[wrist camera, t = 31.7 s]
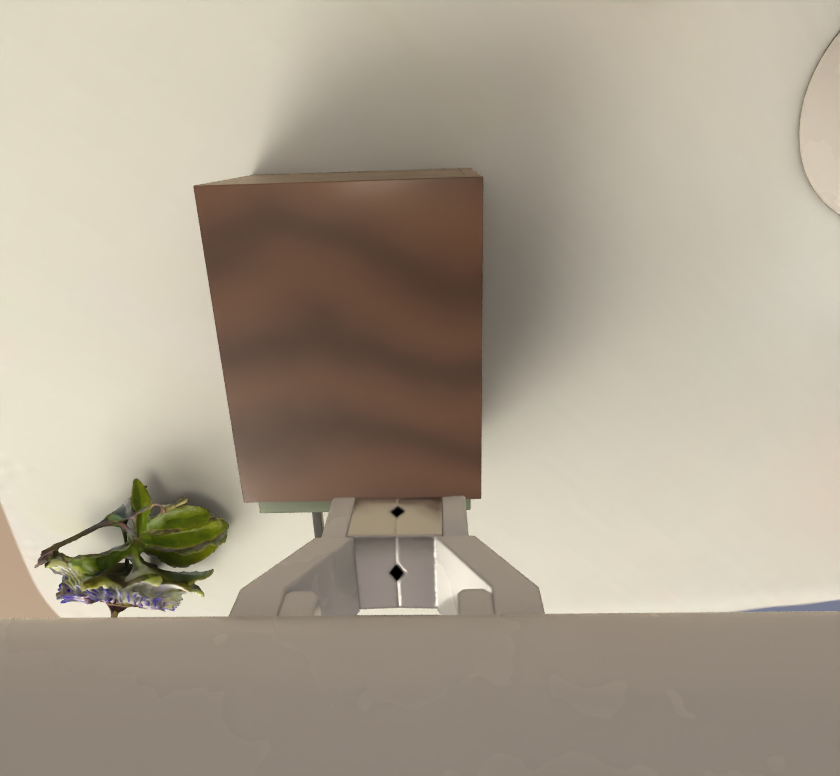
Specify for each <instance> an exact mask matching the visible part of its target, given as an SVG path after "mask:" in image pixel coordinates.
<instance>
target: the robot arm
mask: <svg viewBox="0 0 840 776" xmlns="http://www.w3.org/2000/svg"><path fill="white" fill-rule="evenodd" d="M799 144H800V153H801V158H802V163H803V166H804V170H805V172H806V175H807V177H808V180H809V182H810V184H811V185H812V187H813V189H814V190H815V192H816V193H817V194H818V196H819V197H820V198H821V199H822V200H823V201H824V203H825V204H827V205H828V206H829V207H830V208H831V209H832V210H834V211H835V212H836V213H838V214H839V215H840V32H839V34H838V35H837V36H836V37H835V39H834V40H833V41H832V43H831V44H830V46H829V47H828V48H827V50H826V52H825V53H824V55H823V56H822V58H821V60H820V62H819V63H818V65H817V67H816V69H815V71H814V73H813V76H812V78H811V81H810V83H809V86H808V89H807V91H806V95H805V98H804V102H803V106H802V111H801V117H800V127H799ZM442 520H443V523H442ZM377 608H438V611H439V613H440V614H441V615H357V613H358V612H359V609H377ZM0 776H840V611H828V612H826V611H822V612H821V611H819V612H699V613H581V614H545V612H544V608H543V604H542V599H541V595H540V591H539V587H538V586H536V585H535V584H534V583H533V582H531V581H530V580H529V579H528V578H526V577H525V576H524V575H523V574H521V573H520V572H519V571H518V570H516V569H515V568H514V567H513V566H512V565H510V564H509V563H508V562H507V561H505V560H504V559H503V558H502V557H500V556H499V555H498V554H497V553H495V552H494V551H493V550H492V549H490V548H489V547H488V546H487V545H485V544H484V543H483V542H482V541H480V540H479V539H478V538H477V537H475V536H469V535H468V524H467V513H466V501H465V497H464V495H462V496H444V497H417V498H364V497H357V498H355V497H344V498H334V499H333V500H332V503H331V506H330V510H329V513H328V517H327V520H326V524H325V527H324V530H323V534H322V537H321V538H314V539H313V540H312V541H310V542H309V543H307V544H306V545H304V546H303V547H301V548H300V549H299V550H297V551H296V552H294V553H293V554H291V555H290V556H288V557H287V558H286V559H284V560H283V561H281V562H280V563H278V564H277V565H275V566H274V567H273V568H271V569H270V570H268V571H267V572H265V573H264V574H262V575H261V576H260V577H258V578H257V579H255V580H254V581H252V582H251V583H249V584H248V585H247V586H245V587H244V588H242V589H241V590H240V592H239V594H238V596H237V599H236V601H235V603H234V605H233V608H232V610H231V612H230V615H229V617H119V618H10V619H9V618H0Z"/></svg>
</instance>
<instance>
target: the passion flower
mask: <svg viewBox="0 0 840 776" xmlns="http://www.w3.org/2000/svg"><path fill="white" fill-rule="evenodd" d="M146 488H147V486H144V485H143V484H142V483H141V481H139V480H138V479H135V480H134V481H133V488H132V497H130V498H129V499H128V500H127V501H126V502H125V503H124V504H123V505H122V506H121V507H120V508H118V509H117V510H116V511H114V512H112V513H110V514H109V515H107V516H106V517H105V519H104V520H102V521H101V522H100V523H98V524H96V525H94V526H92V527H90V528H88V529H86V530H84V531H82V532H81V533H79V534H77V535H75V536H73V537H71V538H68V539H66V540H64V541H62V542H59V543H56V544H54V545H52V546H51V547H49V548H47V549H45V550H43V551H42V552H41V553H42V554H40V555H41V557H40V558H39V559H38V564H37V565H35V568H36V567H38V566H40V565H42V564H44V563H45V562H46V563H45V568H50V569H51V570H52V571H53V572H54V573H55V574H59V575H63V578H62V583H61V584H59V589H58V591H59V592H58V593H56V597H57V600H59V599H64V600H62V601H61V603H66V602H71V601H75V602H81V603H83V604H92V603H94V602H98V601H100V602H105V603H106V604H107V605H108V607H109V608H110V611H111V618H117V616H118V613H119V612H121V611H123V610H125V609H126V608H128V607H131V606H132V607H139V608H144V609H149V610H154V609H155V610H156V609H158V610H162V611H164V610H165V609H169V610H172V611H174V610H175V608H177V606H179V604H180V600H183V598H182V597H181V594H187V593H197V594H199V595H201V596H202V597H204V593H203V591H202V590H201V589H200V587H199V586H197V585H195V584H194V583H195V581H197V580H204V579H206V578H207V577H209V576H211V575H212V573H213V572H214V570H213V569H212V570H209V571H204V572H197V571H195V572H190V573H189V572H185V571H183V572H179V573H178V572H171V571H166V570H162V569H159V568H157V565H154V564H150V563H147V562H146V561H144V559H143V558H142V557H141V556H140V553H142V552H145V553H146V554H147V555H154V556H157V557H158V559H159V560H161V561H162V562H164V563H166V564H167V565H169V566H171V567H174V568H176V567H179V568H186V567H189V566H190V565H191V564H195V563H197V562H199V561H202V560H203V559H205V558H206V557H208V556H209V555H210V554H211V553H213V552H215V550H216V548H217V547H218V546H219V545H221V544H222V543H225V542H226V538H227V531H226V530H227V529H228V527H229V524H228V523H227V522H226V521H225V520H223V519H221V518H220V517H217V516H214V515H212V514H211V512H210V511H209V510H207V509H205V508H203V507H200V506H195V505H184V506H181V505H182V504H185V503H186V502H188V498H187V497H181V498H180V499H179V500H178V501H176V502H173V503H171V504H167V505H159V504H157V503H152V504H151V498H150V496H149V494H148V491H147V489H146ZM155 505H156V506H159V507H160V511H161V513H157V514H155V515H153V516H150V515H149V514H150V512H151V509H152V507H153V506H155ZM178 506H179V507H178ZM128 519H131V520H132V522H133V524H134V529H131V528H129V527H128V526H127V525H126V524H127V522H128ZM106 526H116V527H120V528H121V530H122V533H123V537H124V542H125V544H123V545H121V546H117V547H114V548H112V549H110V550H108V551H106V552H103V553H100V554H89V555H78V556H76V557H69V556H66V555H65V554H63V553H59V552H58V549H59V548H60V547H62V546H64V545H66V544H68V543H71V542H72V541H75V540H77V539H79V538H80V537H82V536H85V535H87V534H89V533H91V532H93V531H95V530H96V529H98V528H101V527H106ZM127 533H128V540H127ZM124 558H126V559H125V563H118V562H120V561H121V560H122V559H124ZM129 560H130V561H131V562H132V564H130V563H129Z"/></svg>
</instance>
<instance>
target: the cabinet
mask: <svg viewBox="0 0 840 776" xmlns="http://www.w3.org/2000/svg"><path fill="white" fill-rule="evenodd" d="M194 193H195V200H196V206H197V212H198V218H199V225H200V231H201V237H202V243H203V250H204V256H205V262H206V268H207V275H208V281H209V287H210V294H211V300H212V306H213V312H214V319H215V325H216V331H217V337H218V344H219V350H220V356H221V363H222V369H223V375H224V381H225V388H226V394H227V400H228V406H229V413H230V419H231V425H232V431H233V438H234V444H235V450H236V457H237V463H238V469H239V475H240V482H241V488H242V494H243V500H244V502H303V501H332V500H333V499H334V498H344V497H355V498H357V497H364V498H417V497H444V496H462V495H464V497H465V499H481V437H482V277H483V177H482V176H481V175H479V174H478V173H476V172H475V171H474V170H472V169H471V168H457V169H426V170H395V171H364V172H333V173H302V174H271V175H250V176H244V177H239V178H233V179H228V180H222V181H217V182H211V183H206V184H201V185H195V186H194Z"/></svg>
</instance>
